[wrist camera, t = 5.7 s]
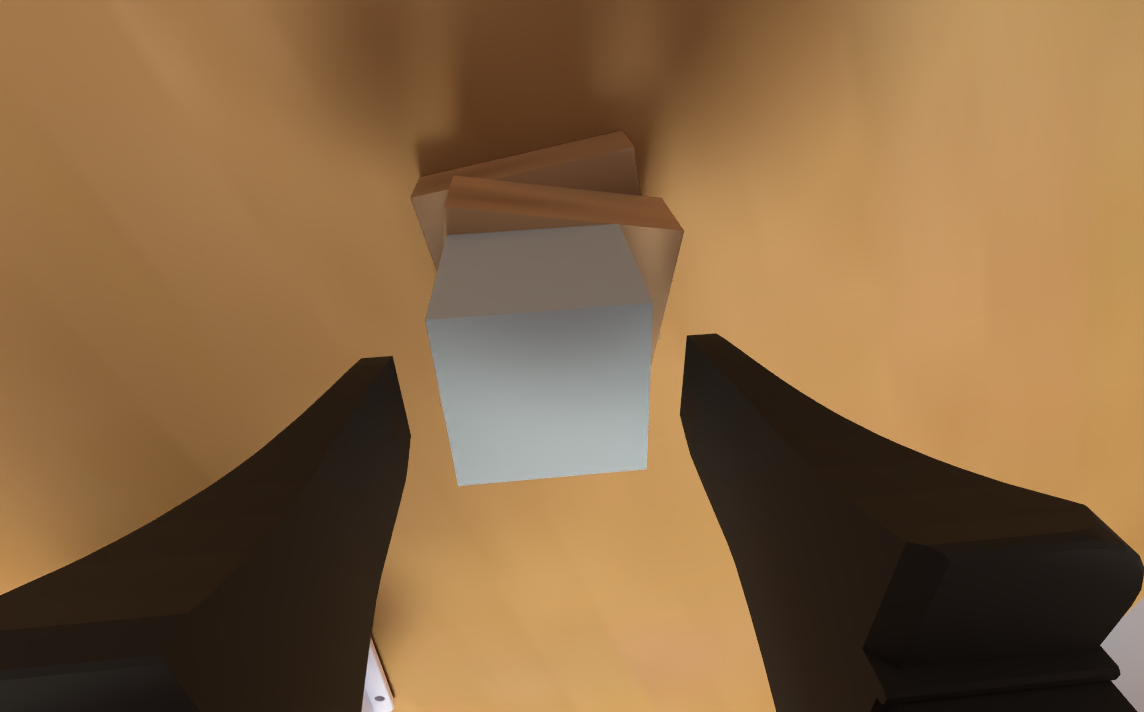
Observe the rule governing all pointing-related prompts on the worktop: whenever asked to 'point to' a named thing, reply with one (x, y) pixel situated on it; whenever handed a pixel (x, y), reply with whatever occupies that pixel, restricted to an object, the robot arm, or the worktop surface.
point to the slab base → (535, 177)
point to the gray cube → (542, 353)
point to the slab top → (572, 223)
